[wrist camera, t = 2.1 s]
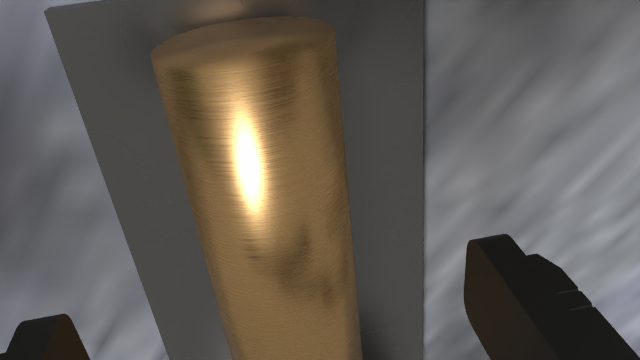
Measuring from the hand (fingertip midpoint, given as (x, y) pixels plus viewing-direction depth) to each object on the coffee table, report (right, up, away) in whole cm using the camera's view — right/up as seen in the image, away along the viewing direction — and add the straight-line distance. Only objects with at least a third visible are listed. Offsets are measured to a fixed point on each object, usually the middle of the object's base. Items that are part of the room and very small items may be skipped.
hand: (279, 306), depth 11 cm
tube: (0, -2, +11) cm, 11 cm away
